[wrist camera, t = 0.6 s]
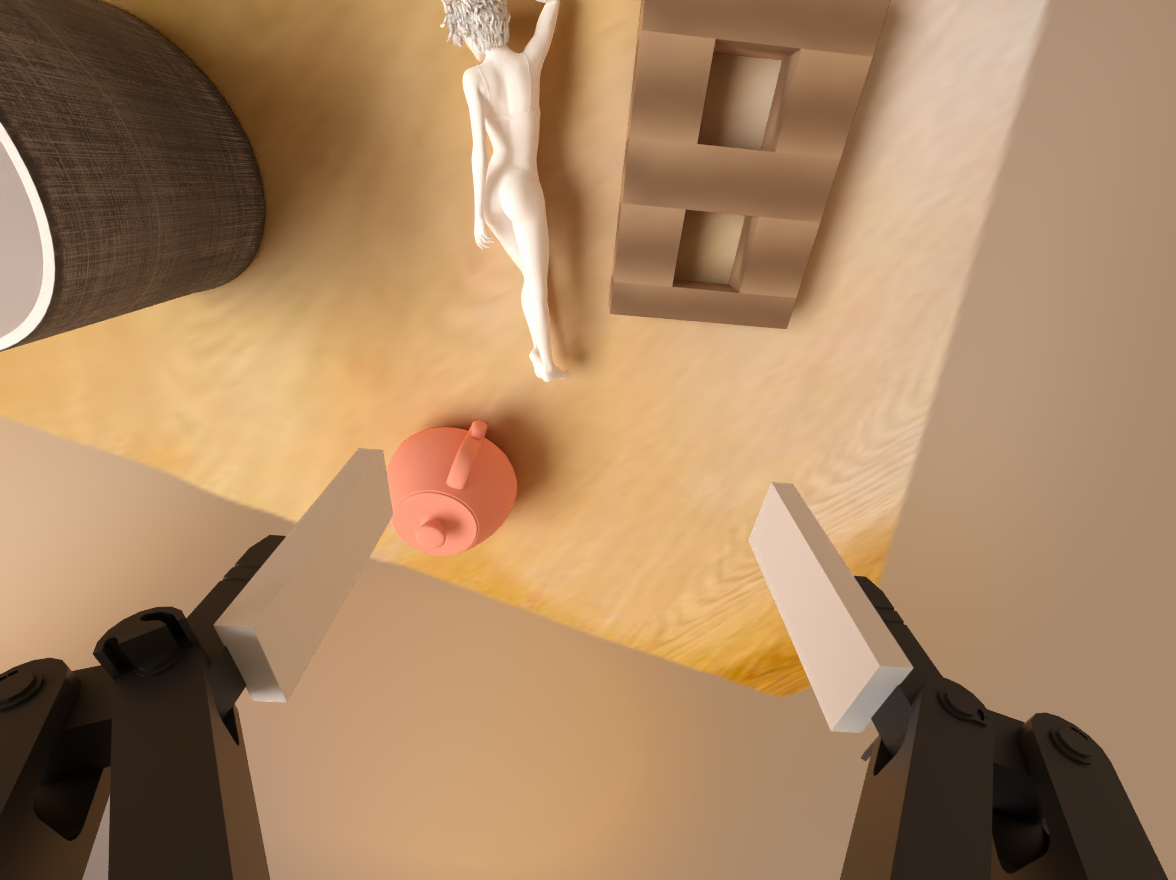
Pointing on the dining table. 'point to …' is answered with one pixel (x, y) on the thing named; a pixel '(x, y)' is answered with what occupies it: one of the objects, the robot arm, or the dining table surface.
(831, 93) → the board
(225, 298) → the dining table surface
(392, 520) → the sugar bowl
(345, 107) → the dining table surface
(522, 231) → the figurine
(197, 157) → the planter
